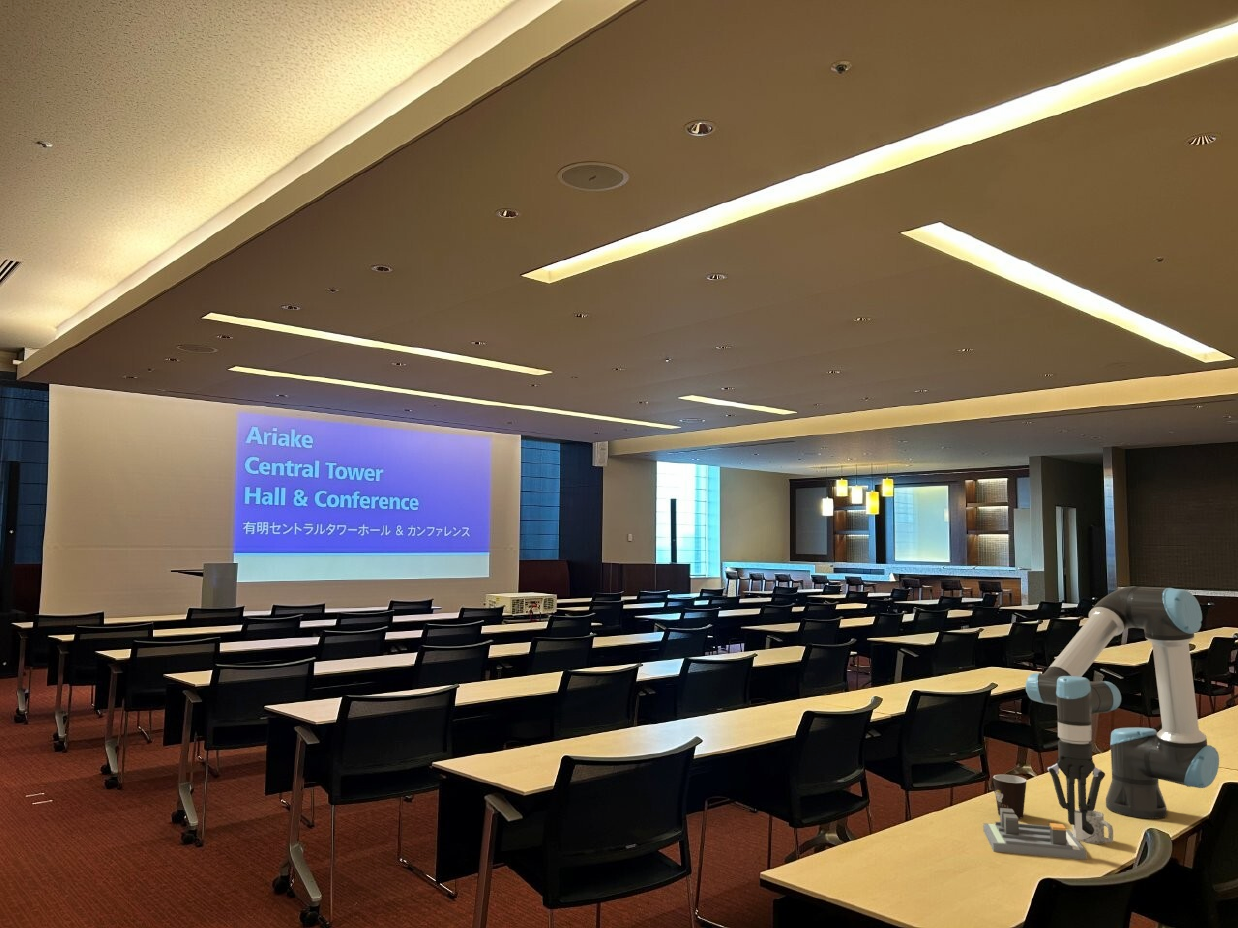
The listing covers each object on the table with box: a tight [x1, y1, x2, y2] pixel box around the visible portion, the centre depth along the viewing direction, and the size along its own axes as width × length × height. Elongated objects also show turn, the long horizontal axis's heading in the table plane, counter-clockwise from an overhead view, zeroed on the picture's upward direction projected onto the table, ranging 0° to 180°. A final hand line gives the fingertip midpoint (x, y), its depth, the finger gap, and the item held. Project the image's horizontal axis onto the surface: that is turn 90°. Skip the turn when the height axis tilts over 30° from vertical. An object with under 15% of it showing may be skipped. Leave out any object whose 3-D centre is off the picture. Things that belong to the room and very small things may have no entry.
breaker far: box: [999, 808, 1015, 828], centre depth 231 cm, size 3×3×5 cm
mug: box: [1077, 808, 1114, 845], centre depth 228 cm, size 10×7×7 cm
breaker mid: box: [1003, 814, 1020, 835], centre depth 226 cm, size 3×3×5 cm
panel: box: [982, 821, 1088, 861], centre depth 225 cm, size 21×16×3 cm
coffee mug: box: [990, 774, 1027, 820], centre depth 251 cm, size 12×9×10 cm
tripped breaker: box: [1049, 822, 1067, 845], centre depth 219 cm, size 3×3×5 cm
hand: (1077, 838), depth 218 cm, fingers closed
